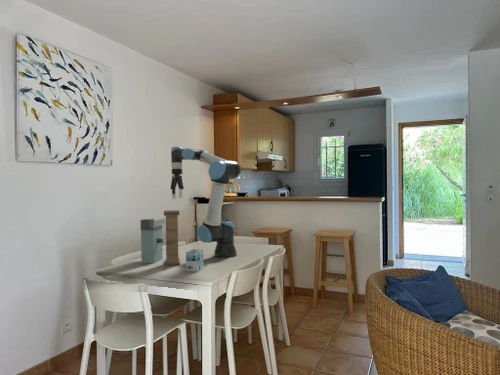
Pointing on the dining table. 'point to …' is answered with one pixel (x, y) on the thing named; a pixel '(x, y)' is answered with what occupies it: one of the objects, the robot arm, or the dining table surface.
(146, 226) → the crank handle
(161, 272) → the dining table surface
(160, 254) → the blue lidded container
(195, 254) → the light bulb box
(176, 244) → the tall stand
